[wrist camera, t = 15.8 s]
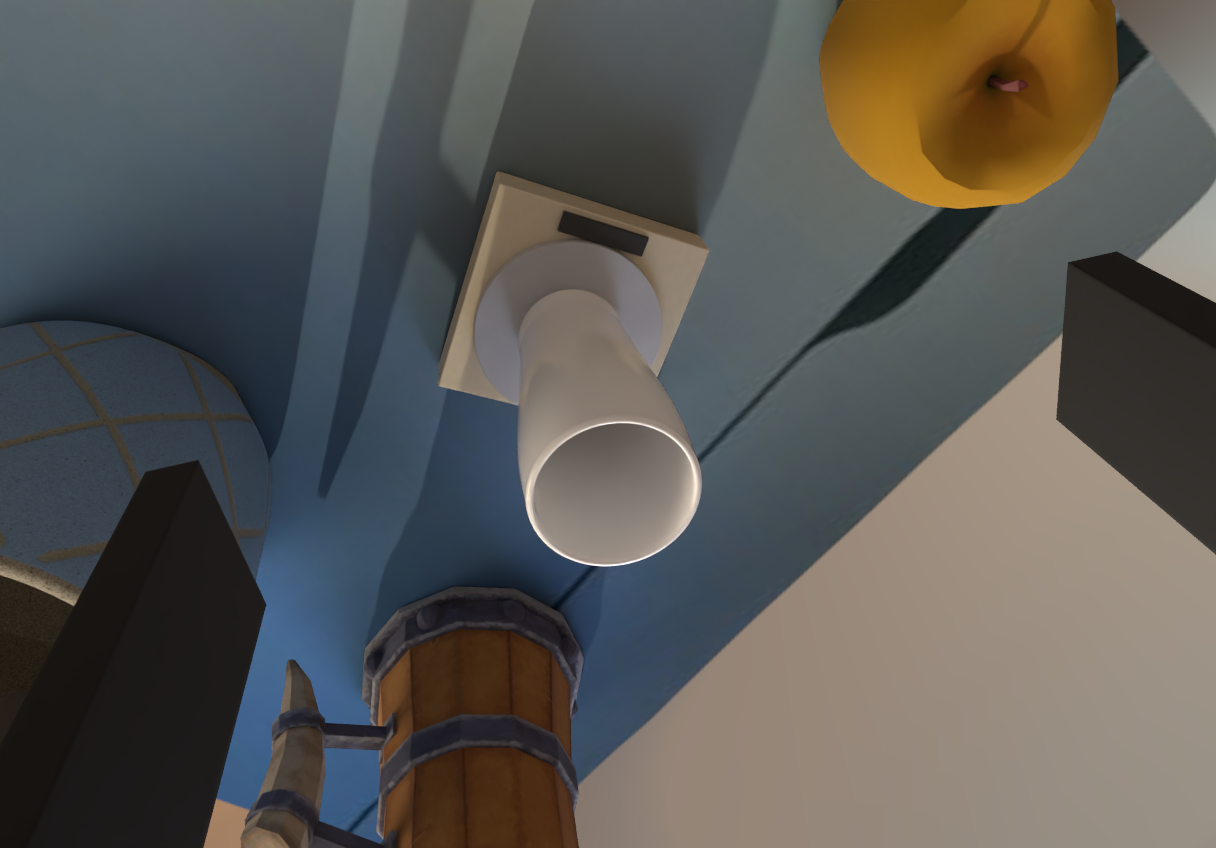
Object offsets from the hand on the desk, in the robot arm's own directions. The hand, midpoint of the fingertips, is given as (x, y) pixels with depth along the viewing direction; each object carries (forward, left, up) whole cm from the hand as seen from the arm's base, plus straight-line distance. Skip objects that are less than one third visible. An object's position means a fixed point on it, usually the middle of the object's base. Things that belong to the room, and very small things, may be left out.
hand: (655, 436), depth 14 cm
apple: (-7, +17, -35) cm, 39 cm away
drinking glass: (+11, +6, -32) cm, 34 cm away
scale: (+10, +6, -35) cm, 37 cm away
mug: (+36, +6, -35) cm, 51 cm away
